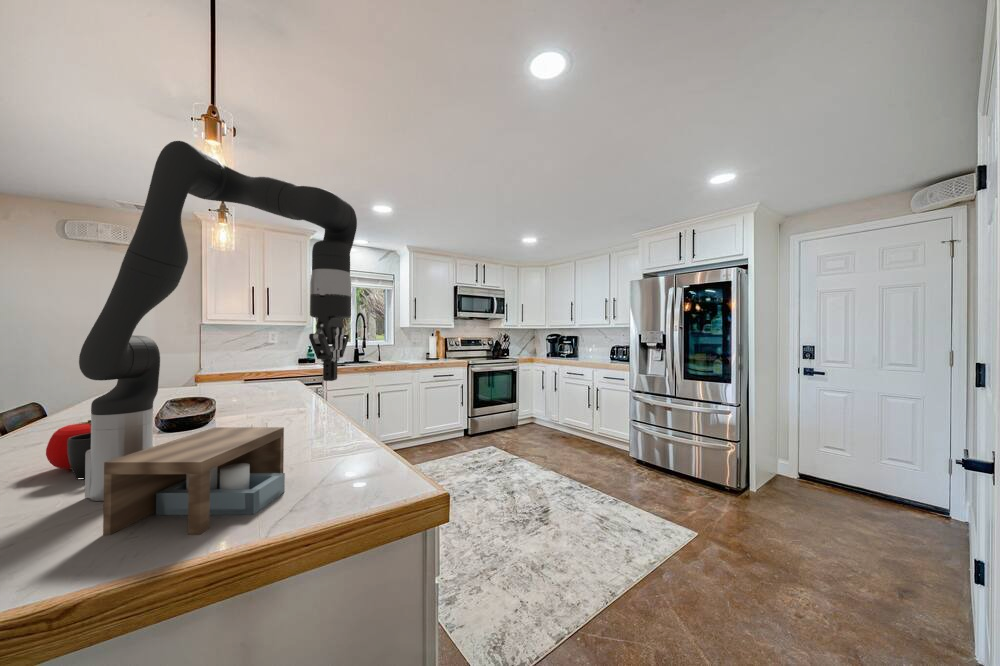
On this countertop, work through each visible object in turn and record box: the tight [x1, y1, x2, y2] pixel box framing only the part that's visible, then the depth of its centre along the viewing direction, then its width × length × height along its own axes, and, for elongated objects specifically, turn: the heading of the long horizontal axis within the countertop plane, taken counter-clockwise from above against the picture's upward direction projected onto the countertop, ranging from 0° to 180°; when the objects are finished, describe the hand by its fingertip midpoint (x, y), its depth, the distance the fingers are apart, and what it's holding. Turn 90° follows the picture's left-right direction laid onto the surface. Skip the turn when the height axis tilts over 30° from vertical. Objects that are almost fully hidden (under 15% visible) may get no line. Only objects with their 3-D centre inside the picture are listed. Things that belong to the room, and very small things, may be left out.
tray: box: [155, 463, 286, 516], centre depth 73 cm, size 18×10×7 cm, turn 91°
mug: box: [67, 433, 91, 479], centre depth 87 cm, size 8×12×10 cm
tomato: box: [45, 419, 91, 470], centre depth 94 cm, size 13×14×12 cm
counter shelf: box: [102, 426, 285, 536], centre depth 73 cm, size 16×24×12 cm, turn 1°
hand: (330, 380), depth 74 cm, fingers closed
